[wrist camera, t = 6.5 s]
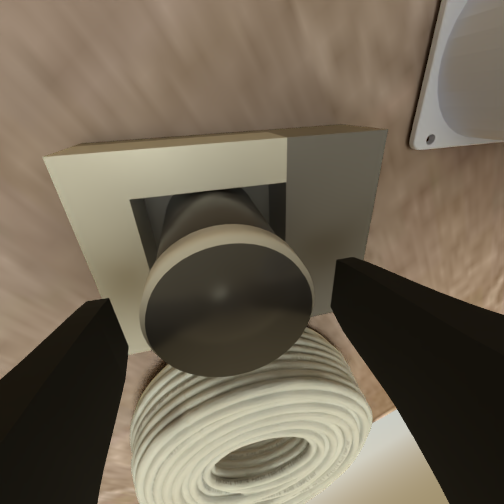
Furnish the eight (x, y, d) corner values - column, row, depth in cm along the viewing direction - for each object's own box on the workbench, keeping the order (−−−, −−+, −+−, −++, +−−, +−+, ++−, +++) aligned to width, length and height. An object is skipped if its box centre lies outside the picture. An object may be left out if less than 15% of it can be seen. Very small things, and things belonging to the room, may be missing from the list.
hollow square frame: (341, 124, 13) (388, 129, 10) (325, 273, 18) (354, 307, 15) (80, 143, 11) (42, 157, 8) (136, 307, 15) (125, 355, 12)
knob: (262, 252, 14) (316, 356, 8) (176, 271, 14) (168, 397, 8) (252, 164, 12) (318, 222, 6) (148, 182, 11) (105, 266, 5)
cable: (211, 471, 27) (218, 556, 22) (77, 397, 18) (35, 512, 13) (360, 390, 26) (403, 459, 21) (297, 271, 17) (345, 341, 12)
